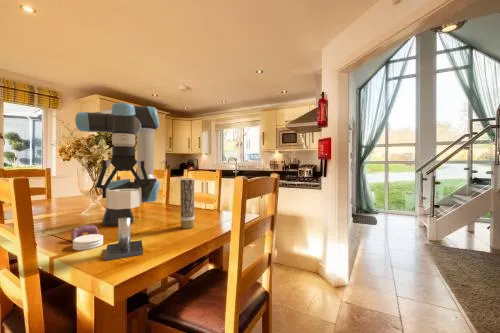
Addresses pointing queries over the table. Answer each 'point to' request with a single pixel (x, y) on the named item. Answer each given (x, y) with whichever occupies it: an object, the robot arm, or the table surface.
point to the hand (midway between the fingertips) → (124, 205)
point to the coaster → (87, 242)
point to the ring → (123, 198)
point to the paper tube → (187, 203)
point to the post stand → (123, 242)
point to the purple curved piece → (84, 231)
